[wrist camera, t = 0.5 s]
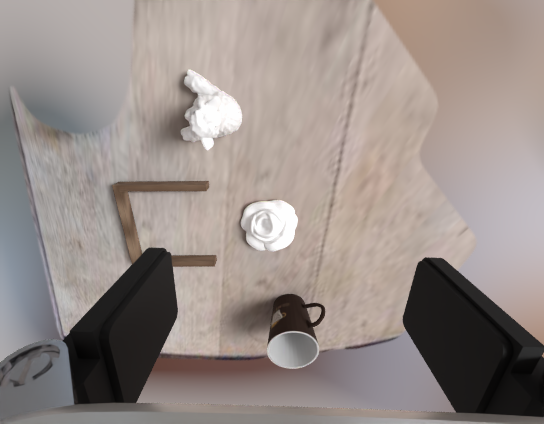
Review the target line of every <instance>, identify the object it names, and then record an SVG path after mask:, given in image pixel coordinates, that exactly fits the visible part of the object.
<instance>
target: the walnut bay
mask: <svg viewBox="0 0 544 424" xmlns="http://www.w3.org/2000/svg"><path fill="white" fill-rule="evenodd" d="M112 187H113V191H114V195H115V199H116V203H117V207H118V210H119V214H120V218H121V222H122V226H123V230H124V234H125V238H126V242H127V246H128V250H129V254H130V258H131V261H132V264H133V263H134V262H135V261H136V260H137V259H138V258H139V257H140V256H141V255H142V251H141V247H140V243H139V238H138V234H137V230H136V225H135V221H134V217H133V213H132V208H131V204H130V200H129V195H128V191H207V189H208V188H209V181H168V182H118V183H116V184H114V185H112ZM171 257H172V266H173V267H183V266H215V264H216V261H217V258H216V255H197V256H171Z"/></svg>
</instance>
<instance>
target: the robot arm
mask: <svg viewBox="0 0 544 424" xmlns="http://www.w3.org/2000/svg"><path fill="white" fill-rule="evenodd" d="M177 313H178V308H177V299H176V291H175V283H174V274H173V266H172V257H171V253H170V252H167V251H166V249H165V248H148V249H146V250H145V252H144V253H143V254H142V255H141V256H140V257H139V258H138V259H137V260H136V261H135V262H134V263H133V264H132V265H131V266H130V267H129V269H128V270H127V271H126V272H125V273H124V274H123V275H122V276H121V277H120V278H119V279H118V280H117V281H116V282H115V283H114V284H113V286H112V287H111V288H110V289H109V290H108V291H107V292H106V293H105V294H104V295H103V296H102V297H101V298H100V299H99V300H98V301H97V303H96V304H95V305H94V306H93V307H92V308H91V309H90V310H89V311H88V312H87V313H86V314H85V315H84V316H83V317H82V318H81V320H80V321H79V322H78V323H77V324H76V325H75V326H74V327H73V328H72V329H71V330H70V333H69V334H68V335H67V337H66V338H65V339H64V340H63V341H61V340H54V339H51V340H43V341H39V342H36V343H33V344H30V345H28V346H25V347H23V348H21V349H19V350H17V351H16V352H14V353H12V354H11V355H9V356H7V357H6V358H5V359H4V360H3V361H1V362H0V424H544V358H543V357H542V354H543V353H544V345H543V344H541V343H540V342H539V341H538V340H537V339H535V338H534V337H533V336H532V335H531V334H530V333H529V332H527V331H526V330H525V329H524V328H523V327H522V326H521V325H519V324H518V323H517V322H516V321H515V320H514V319H512V318H511V317H510V316H509V315H508V314H506V313H505V312H504V311H503V310H502V309H501V308H500V307H498V306H497V305H496V304H495V303H494V302H493V301H492V300H490V299H489V298H488V297H487V296H486V295H485V294H484V293H482V292H481V291H480V290H479V289H478V288H476V287H475V286H474V285H473V284H472V283H471V282H470V281H468V280H467V279H466V278H465V277H464V276H463V275H462V274H460V273H459V272H458V271H457V270H456V269H455V268H453V267H452V266H451V265H450V264H449V263H448V262H446V261H445V260H444V259H442V258H424V259H423V260H422V261H420V262H419V263H418V265H417V268H416V271H415V275H414V279H413V282H412V286H411V290H410V293H409V297H408V301H407V304H406V308H405V312H404V315H403V324H404V327H405V329H406V330H407V332H408V334H409V335H410V337H411V339H412V340H413V342H414V344H415V345H416V347H417V348H418V350H419V352H420V354H421V355H422V357H423V358H424V360H425V362H426V363H427V365H428V367H429V368H430V370H431V372H432V373H433V375H434V377H435V378H436V380H437V382H438V383H439V385H440V386H441V388H442V390H443V391H444V393H445V395H446V396H447V398H448V400H449V401H450V403H451V405H452V406H453V408H454V410H455V411H456V413H451V412H450V413H449V412H426V411H401V410H374V409H373V410H372V409H344V408H316V407H285V406H252V405H214V404H179V403H178V404H177V403H136V402H137V400H138V398H139V396H140V394H141V391H142V389H143V387H144V385H145V383H146V381H147V379H148V377H149V375H150V372H151V371H152V368H153V366H154V364H155V362H156V360H157V358H158V356H159V354H160V352H161V350H162V348H163V345H164V343H165V341H166V339H167V337H168V335H169V333H170V331H171V329H172V327H173V325H174V323H175V320H176V318H177Z"/></svg>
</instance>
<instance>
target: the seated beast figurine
mask: <svg viewBox="0 0 544 424" xmlns="http://www.w3.org/2000/svg"><path fill="white" fill-rule="evenodd" d="M187 75H188V76H186V77H185V80H184V84H185V85H186V86H187V87H189V88H190V89H191V90H192V92H193V93H197V94H198V97H197V98H196V99H195V101H194V103H193V106H192V107H191V108H189V109H187V111H186V114H185V115H184V116H185V119H186V120H188V121H189V124H190V126H189V127H186V128H183V129H181V135H183V139H184V140H186V141H192V142H196V141H200V140H201V142H202V144H203V146H204V148H205V149H206V150H209V149H210V148H211V147H213V145H214V141H213V139H212V138H217V137H222V136H226V135H228V134H229V135H231V134H232V132H234V131H237V130H238V127H240V125H241V123H242V112H241V109H240V106H239V105H238V104H237V102H236V100H234V99H233V98H232V97H231V96H230V95H228V94H227V93H225V92H223V91H222V90H219V89H218V87H216V86H215V85H212V84H211V83H210V82H209V81H208V80H206V79H205V78H204V77H203V76H201V75H199V74H198V73H196V72H195V71H193V70H191V69H189V70H188V72H187Z"/></svg>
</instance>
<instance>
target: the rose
mask: <svg viewBox="0 0 544 424" xmlns="http://www.w3.org/2000/svg"><path fill="white" fill-rule="evenodd" d="M297 222H298V218H297V216H296V215H295V211H294V209H293V207H292V206H291V205H289V204H288V203H286V202H284V201H281V200H272V201H259V202H255V203H252V204H250V205H249V206H247V207H246V209H245V210H244V213H243V217H242V219H241V227H242V228H243V229H244V230H245V231H246V240H247V242H248V244H249V245H250V246H252V247H253V248H255V249H256V250H259V251H263V250H266V249H267V250H269V251H272V252H273V251H277V250H280V249H283V248H285V247H287V246H288V245H289V244H290V243H291V242H292V240H293V239H294V234H295V233H294V231H295V228H296V226H297Z"/></svg>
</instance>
